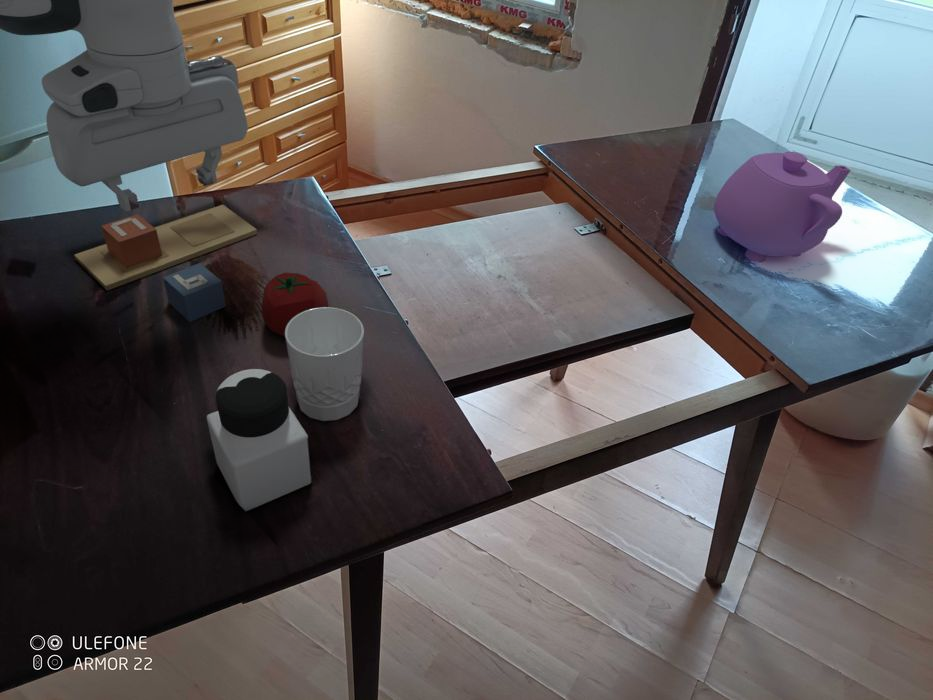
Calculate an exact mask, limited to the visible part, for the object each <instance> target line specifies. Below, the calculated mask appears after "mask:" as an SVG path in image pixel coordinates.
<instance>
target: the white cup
mask: <svg viewBox="0 0 933 700" xmlns="http://www.w3.org/2000/svg"><path fill="white" fill-rule="evenodd" d="M364 336H365V328H364V325H363V323H362V321H361V320H360V318H358V316H356V315H355V314H353V313H352V312H350V311H348V310H345V309H342V308H338V307H332V306H331V307H330V306H328V307H320V308H313V309H309V310H306V311H304V312H301V313H299V314H298V315H296V316H295V317H293V318H292V319H291V320H290V321H289V323H288V324H287V326H286V329H285V337H284V338H285V343H286V349H287V355H288V362H289V368H290V372H291V373H290V374H291V378H292V383H293V384H292V385H293V388H294V390H295V395H296V401H297V404H298V407H299V410H300V411H301V412H302V413H303V414H304V415H306V416H307V417H308V418H310V419H314V420H317V421H321V422H331V421H338V420H341V419H343V418H345V417H347V416H350V414H352V412H353V411H355V409H356V408H357V407H358V405H359V401H360V400H359V399H360V395H361V394H360V393H361V392H360V391H361V385H362V374H363V373H362V372H363V362H364V361H363V356H364V339H365V337H364Z"/></svg>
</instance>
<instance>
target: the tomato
mask: <svg viewBox="0 0 933 700" xmlns="http://www.w3.org/2000/svg"><path fill="white" fill-rule="evenodd" d="M320 307H329V300H328V297H327V293H326V291H325V290H324V289H323V287H322V286H321V285H320V283H318V281H316V280H314V279H311V278H309V277H308V276H307V275H304V274H301V273H298V272H282V273H280V274H277V275H275V276H274V277H272V278H271V279H270V280H269V281H268V282H267V284H266V285H265V287H264V289H263V294H262V301H261V316H262V319H263V321H264V324H265V325H266V327H267V328H268V329H269V330H270V331H271V332H272V333H274V334H277V335H280V336H281V337H283V338H285V329H286V326H287V324H288V323H289V321H290V320H291V319H292V318H293V317H295V316H296V315H298V314H299V313H301V312H304V311H306V310H309V309H313V308H320Z"/></svg>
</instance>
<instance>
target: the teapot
mask: <svg viewBox="0 0 933 700" xmlns="http://www.w3.org/2000/svg"><path fill="white" fill-rule="evenodd" d="M851 171H852V169H850V168H849V167H847V166H845V165H838V164H837V165H834V167H832V168H831V169H830V170H829V171H828V172H826V173H825V171H823V170H822V169H821V168H820V167H818V166H817V165H815V164H814V163H811V162H810V161H808V157H806V156H805V155H804V154H802V153H800V152H796V151H785V152H767V153H759V154H756V155H753V156H751V157H749V158H748V160H746V161H745V162H744V163H743V164H742V165H740V166H739V168H737V169H736V170H735V171H734V172H733V173H732V174H731V176H729V177H728V179H727V180H726V181H725V183H724V184H723V185H722V187H721V188H720V190H719V191H718V193H717V195H716V198H715V200H714V202H713V211H714V216H715V218H716V221H717V224H718V225H719V227H718V228H717V233H718V234H719V235H721V236H723V237H725V238H730V239H732V240H733V241H734V242H735V243H737V244H739V245H740V246H742V247H744V248H745V249H746V251H745V252H744V256H745V258H746V259H748V260H749V261H752V262H754V263H755V262H756V263H762V262H765V258H766V256H769V257H795V258H796V257H800V256H801V255H802V254H803V253H806V252H808V251H810V250H812V249H813V248H815V247H817V246H818V245H820V244H821V243H822V242H824V240H825V238H826V236H827V234H828V231H829V230H830V229H831V228H833V226H835V225H836V224H837V223H838V221H839V220H840V219H841V217H842V215H843V208H842V206H841V205H840V204H839V203H838V202H837V201H835V200H833V197H834V195H835V194H836V192H837V191H838V190H839V188H840V187H841V186H842V184H843V183H844V181H845V179H846V178H847V176H848V175H849V174H850V172H851Z"/></svg>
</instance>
